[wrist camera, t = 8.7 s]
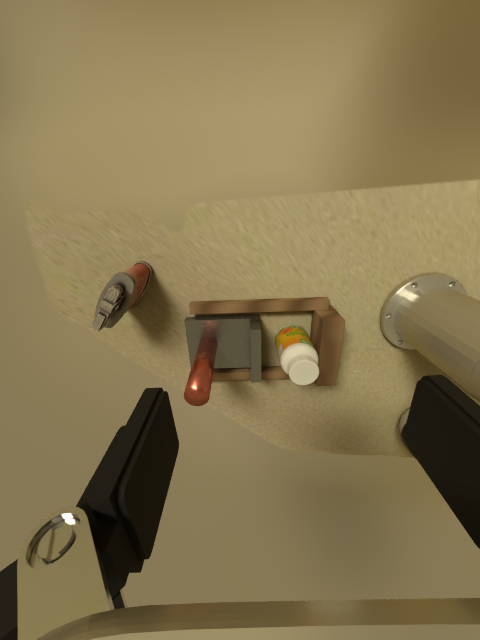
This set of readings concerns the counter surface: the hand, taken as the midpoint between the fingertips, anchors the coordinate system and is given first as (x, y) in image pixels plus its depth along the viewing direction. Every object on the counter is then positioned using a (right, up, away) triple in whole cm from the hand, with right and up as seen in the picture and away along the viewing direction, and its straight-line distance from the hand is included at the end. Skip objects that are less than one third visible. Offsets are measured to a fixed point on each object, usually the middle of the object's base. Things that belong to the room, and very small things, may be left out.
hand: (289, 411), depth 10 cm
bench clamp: (+3, 0, +33) cm, 33 cm away
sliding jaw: (-5, 0, +32) cm, 33 cm away
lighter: (-18, +9, +29) cm, 35 cm away
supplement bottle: (+7, +1, +33) cm, 33 cm away
